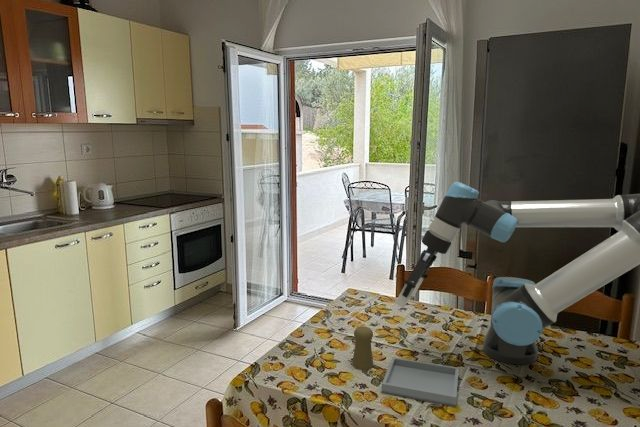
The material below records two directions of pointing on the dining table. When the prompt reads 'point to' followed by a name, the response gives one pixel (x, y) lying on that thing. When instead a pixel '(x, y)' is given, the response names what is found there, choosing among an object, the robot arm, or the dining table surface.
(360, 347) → the cork
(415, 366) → the tray
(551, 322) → the robot arm
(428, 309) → the dining table surface
